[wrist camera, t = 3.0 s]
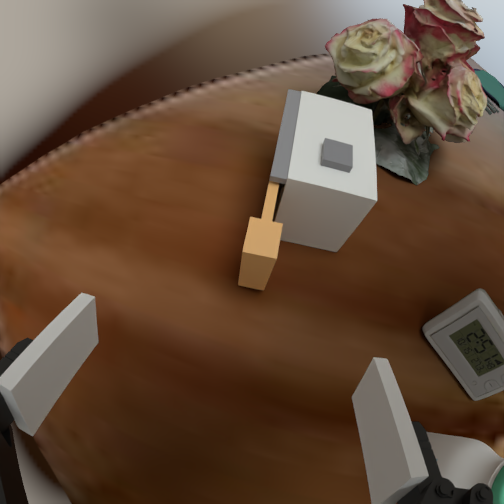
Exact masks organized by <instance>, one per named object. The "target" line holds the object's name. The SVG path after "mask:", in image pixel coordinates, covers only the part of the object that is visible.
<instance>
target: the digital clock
mask: <svg viewBox="0 0 504 504" xmlns="http://www.w3.org/2000/svg"><path fill="white" fill-rule="evenodd" d="M422 329H423V332H424V334H425V336H426V338H427V340H428V341H429V342H430V344H431V345H432V346H433V348H434V349H435V350H436V351H437V353H438V354H439V355H440V357H441V358H442V359H443V361H444V362H445V363H446V364H447V366H448V367H449V368H450V370H451V371H452V372H453V374H454V375H455V377H456V378H457V379H458V381H459V382H460V383H461V385H462V386H463V387H464V389H465V390H466V392H467V393H468V394H469V396H470V397H471V398H472V399H473V400H475V401H477V400H481V399H484V398H486V397H489V396H491V395H493V394H496V393H498V392H501V391H503V390H504V316H503V314H502V313H501V311H500V310H499V309H498V308H497V307H496V305H495V304H494V303H493V301H492V300H491V298H490V297H489V295H488V294H487V293H486V292H485V291H484V290H483V289H481V288H479V289H476V290H475V291H473V292H472V293H470V294H469V295H467V296H466V297H464V298H463V299H461V300H460V301H458V302H457V303H456V304H454V305H453V306H451V307H450V308H448V309H447V310H445V311H443V312H442V313H440V314H439V315H437V316H436V317H434V318H433V319H431V320H429V321H428V322H427V323H425V325H424V326H423V328H422Z"/></svg>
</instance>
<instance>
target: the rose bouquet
mask: <svg viewBox="0 0 504 504" xmlns="http://www.w3.org/2000/svg"><path fill="white" fill-rule="evenodd" d="M403 6H404V8H405V25H404V33H403V32H402V31H401V30H399V29H398V28H397V27H395V26H394V25H393V24H392V23H391V22H390V21H389V20H388V19H371V20H368V21H366V22H364V23H362V24H358V25H355V26H350V27H347V28H346V29H344V30H343V31H342V32H341V34H338V33H336V34H335V35H334V36H333V37H332V38H331V40H330V41H328V42H327V43H326V45H325V48H326V50H327V51H328V52H329V53H330V55H331V57H332V59H333V62H334V68H335V71H336V73H335V75H336V76H332V77H331V79H330V81H329V82H327V83H326V84H324V85H323V86H322V87H321V89H320V90H319V91H318V92H317V94H318V95H322V96H326V97H329V98H333V99H337V100H340V101H344V102H347V103H351V104H354V105H358V106H361V107H364V108H367V109H370V110H372V116H373V125H380V124H381V123H382V122H385V123H387V124H389V123H391V124H392V126H391V127H389V128H387V129H379V128H374V140H375V155H376V164H378V165H381V166H383V167H385V168H388V169H390V170H391V171H393V172H395V173H397V174H398V175H400V176H404V177H406V178H409V179H410V180H412V182H413V183H414V184H415V185H418V184H419V183H421V182H422V181H424V180H426V179H427V176H428V169H429V160H430V155H431V154H432V152H433V150H435V149H438V148H439V147H438V145H435V144H431V143H430V142H429V141H428V138H429V136H430V134H429V132H432V133H433V129H434V130H435V131H436V132H437V133H438V134H439V135H440V136H441V137H442V140H443V141H444V140H446V141H448V142H454V143H460V142H465V141H466V140H467V141H470V140H469V135H470V134H472V132H473V129H474V128H475V124H477V120H476V117H481V116H483V111H484V110H485V108H486V106H487V96H486V94H485V93H484V91H483V89H482V86H481V82H480V79H479V78H478V76H477V75H476V74H475V71H474V70H473V69H472V67H471V66H470V65H469V64H468V63H467V62H466V60H467V59H469V58H470V57H471V56H473V55H475V54H476V53H477V52H478V51H479V49H480V47H479V46H478V45H477V44H476V41H479V40H480V39H484V38H485V37H484V34H483V32H482V31H481V29H480V28H479V27H478V26H477V25H476V23H475V22H482V21H483V18H482V17H481V16H480V15H479V14H478V13H477V12H476V9H475V8H472V9H473V10H472V9H469V8H468V7H467V6H466V5H465V4H463V2H462V1H461V0H424V5H421V6H420V7H419V8H415V7H412V6H409V5H405V4H403ZM404 116H407V117H408V118H407V119H405V118H404ZM425 129H426V131H425ZM417 183H418V184H417Z"/></svg>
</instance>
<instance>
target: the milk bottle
mask: <svg viewBox="0 0 504 504" xmlns="http://www.w3.org/2000/svg"><path fill="white" fill-rule="evenodd" d="M426 433H427V435H428V438H429V442H430V444H431V446H432V448H431V449H433V452H434V455H435V458H436V461H437V464H438V467H439V470H440V473H441V476H442V478H446V479H449V480H450V481H451V482H452V483H453V484H454V486H455V487H456V488H463V489H471V488H472V487H473V486H474V485H476V484H478V483H484V484H486V485H488V486H489V487H490V488H491V490H492V492H493V504H504V459H503V458H501V457H500V456H498V455H497V454H496V453H495V452H494V451H493V450H492V449H491V448H490V447H489V446H488V445H486V444H485V443H483V442H481V441H478V440H475V439H470V438H465V437H458V436H451V435H444V434H437V433H431V432H426Z"/></svg>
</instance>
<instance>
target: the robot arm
mask: <svg viewBox="0 0 504 504" xmlns="http://www.w3.org/2000/svg"><path fill="white" fill-rule="evenodd" d="M98 342H99V341H98V331H97V319H96V305H95V297H94V296H91V295H88V294H84V293H81V294H80V295H79V296H78V297H77V298H76V299H75V300H73V301H72V302H71V303H70V304H69V305H68V306H67V307H66V308H65V309H64V310H63V311H62V312H61V313H60V314H59V315H58V316H57V317H56V318H55V319H54V320H53V321H52V322H51V323H50V324H49V325H48V326H47V327H46V328H45V329H44V330H43V331H42V332H41V333H40V334H39V335H38V336H37V337H36V338H35V340H34V341H33V340H31V339H29V338H26V339H24V340H22V341H20V342H18V343H17V344H16V345H15V346H14V347H13V348H12V349H11V351H9V352H8V353H7V354H6V355H5V357H3V358H2V360H1V361H0V504H28V500H27V496H26V493H25V489H24V486H23V482H22V477H21V473H20V469H19V464H18V459H17V454H16V449H15V444H14V438H13V431H12V427H11V425H10V424H11V423H12V422H13V420H15V422H16V424H17V426H18V428H20V429H21V430H23V431H25V432H26V433H28V434H30V435H31V436H33V435H34V434H35V432H36V431H37V429H38V428H39V426H40V425H41V423H42V422H43V420H44V419H45V417H46V416H47V414H48V413H49V411H50V410H51V408H52V407H53V405H54V404H55V402H56V401H57V399H58V398H59V396H60V395H61V394H62V392H63V391H64V389H65V388H66V386H67V385H68V384H69V382H70V381H71V379H72V378H73V377H74V375H75V374H76V372H77V371H78V370H79V368H80V367H81V365H82V364H83V363H84V361H85V360H86V358H87V357H88V356H89V354H90V353H91V352H92V350H93V349H94V348H95V346H96V345H97V344H98ZM352 401H353V406H354V410H355V415H356V420H357V425H358V430H359V435H360V440H361V445H362V450H363V455H364V461H365V466H366V472H367V478H368V484H369V490H370V496H371V502H372V504H395V503H398V504H493V492H492V490H491V488H490V487H489V486H488V485H486V484H484V483H478V484H476V485H474V486H473V487H472V488H471V489H463V488H456V487H455V486H454V484H453V483H452V482H451V481H450V480H449V479H446V478H442V476H441V473H440V470H439V467H438V464H437V461H436V458H435V455H434V452H433V449H431V448H432V446H431V444H430V442H429V438H428V435H427V433H426V430H425V429H424V428H423V426H422V425H421V424H420V423H419V422H411V420H410V417H409V414H408V411H407V408H406V406H405V403H404V400H403V398H402V395H401V392H400V390H399V387H398V384H397V382H396V379H395V377H394V374H393V372H392V369H391V366H390V364H389V362H388V359H385V358H376V357H373V359H372V361H371V363H370V365H369V367H368V369H367V370H366V372H365V374H364V376H363V378H362V380H361V381H360V383H359V385H358V387H357V388H356V390H355V392H354V394H353V395H352Z"/></svg>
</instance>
